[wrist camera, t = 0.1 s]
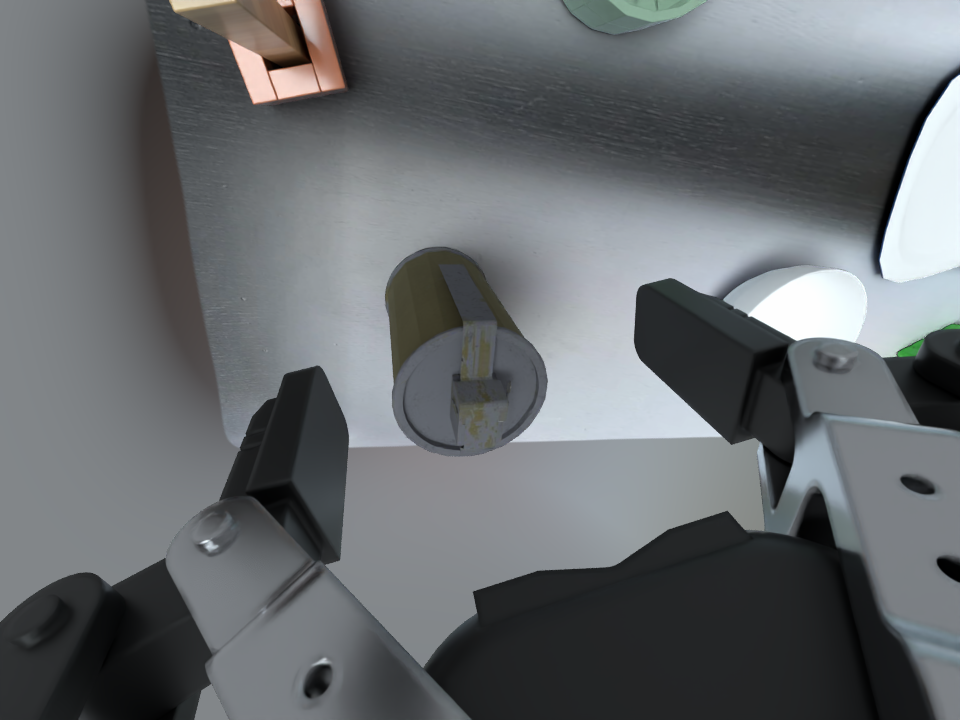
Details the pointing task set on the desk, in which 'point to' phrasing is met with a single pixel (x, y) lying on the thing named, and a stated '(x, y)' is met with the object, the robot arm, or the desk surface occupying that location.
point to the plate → (927, 199)
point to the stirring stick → (251, 27)
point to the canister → (458, 358)
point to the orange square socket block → (300, 80)
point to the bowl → (805, 302)
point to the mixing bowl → (628, 13)
